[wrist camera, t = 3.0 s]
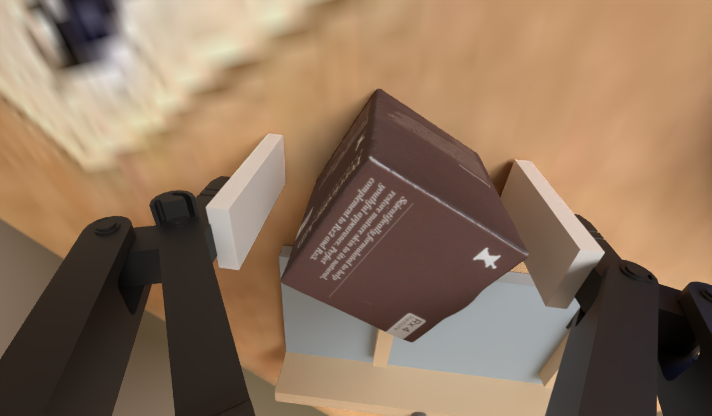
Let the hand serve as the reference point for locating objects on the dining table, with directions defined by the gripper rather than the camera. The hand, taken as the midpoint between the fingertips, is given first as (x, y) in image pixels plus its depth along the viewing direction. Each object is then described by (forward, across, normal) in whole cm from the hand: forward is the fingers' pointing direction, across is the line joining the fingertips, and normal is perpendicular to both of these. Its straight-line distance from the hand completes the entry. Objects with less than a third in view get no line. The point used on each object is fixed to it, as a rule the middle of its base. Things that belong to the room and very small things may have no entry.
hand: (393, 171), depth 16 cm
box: (0, 0, 0) cm, 0 cm away
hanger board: (0, +7, -12) cm, 13 cm away
